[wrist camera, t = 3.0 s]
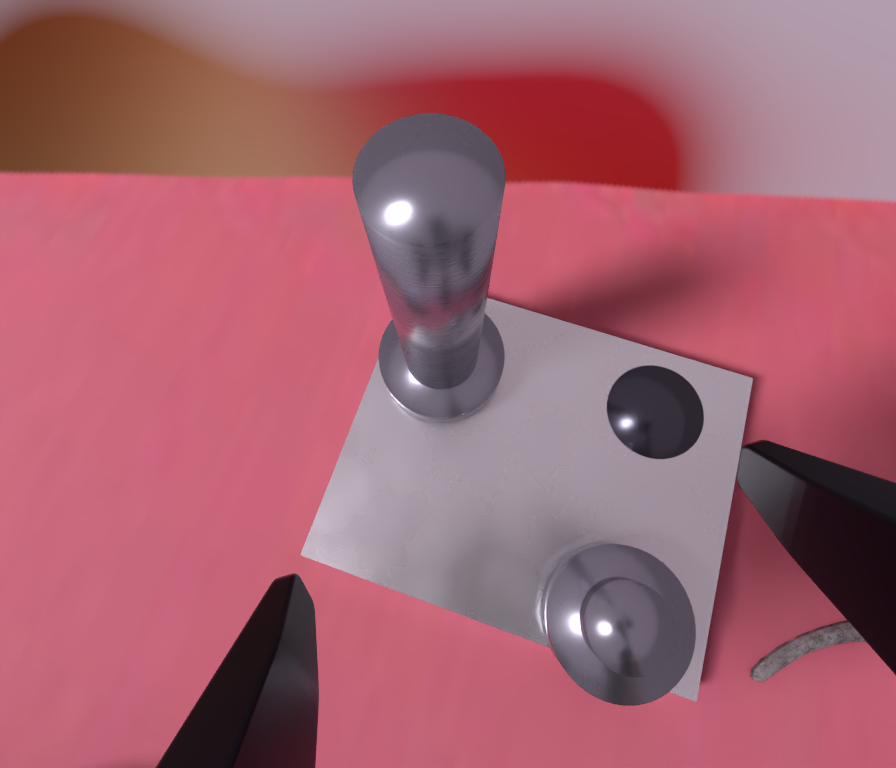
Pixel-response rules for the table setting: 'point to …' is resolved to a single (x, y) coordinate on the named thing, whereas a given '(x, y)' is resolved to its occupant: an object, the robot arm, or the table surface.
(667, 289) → the table surface
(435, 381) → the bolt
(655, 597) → the grey metal knob
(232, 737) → the robot arm
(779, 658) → the pliers
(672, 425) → the plate
